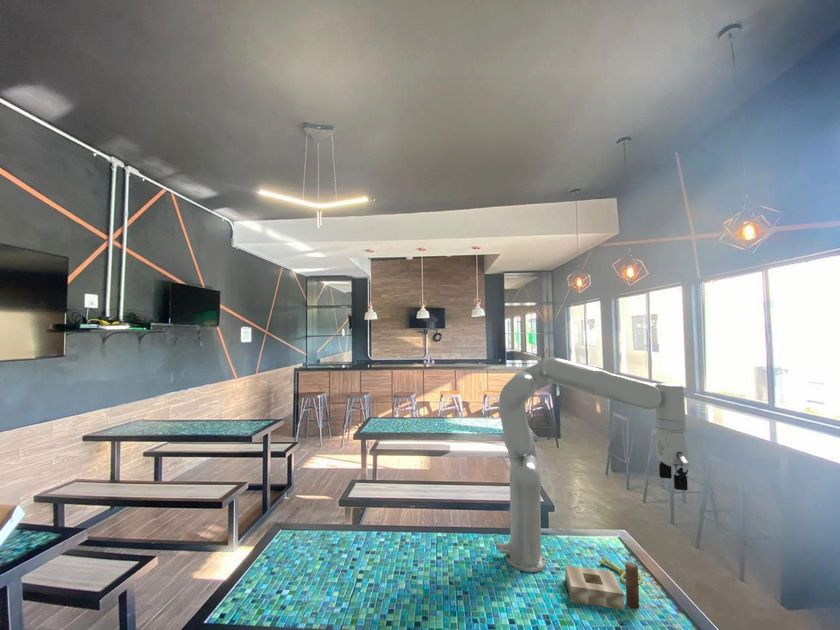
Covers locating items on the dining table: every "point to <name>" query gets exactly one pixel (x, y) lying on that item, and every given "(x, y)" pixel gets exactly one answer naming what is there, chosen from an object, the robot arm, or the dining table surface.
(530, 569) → the robot arm
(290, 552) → the dining table surface
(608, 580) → the maple hole block
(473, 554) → the dining table surface
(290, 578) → the dining table surface
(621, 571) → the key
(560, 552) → the dining table surface
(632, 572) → the walnut peg
